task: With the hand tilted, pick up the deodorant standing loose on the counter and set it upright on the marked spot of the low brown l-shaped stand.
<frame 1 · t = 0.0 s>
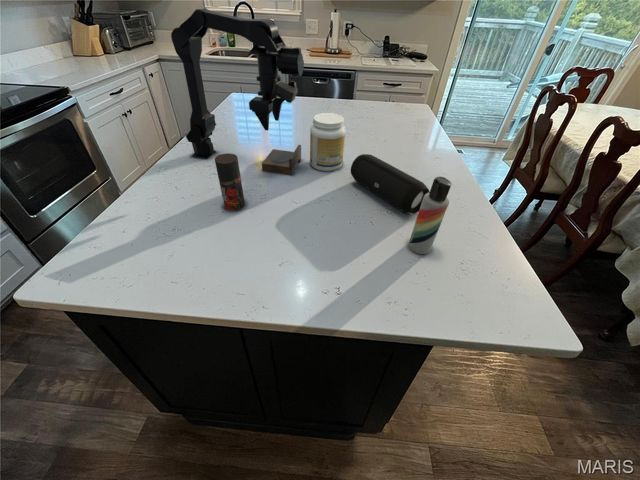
hand: (271, 125, 98), 15 cm above the kitchen island, tool pointing down, fingers open, 9 cm apart
lotion bottle: (419, 247, 77), on the kitchen island
portable speaker: (384, 196, 95), on the kitchen island
supplement tub: (326, 164, 110), on the kitchen island
brown l-shaped stand: (282, 165, 108), on the kitchen island
deodorant: (234, 205, 88), on the kitchen island
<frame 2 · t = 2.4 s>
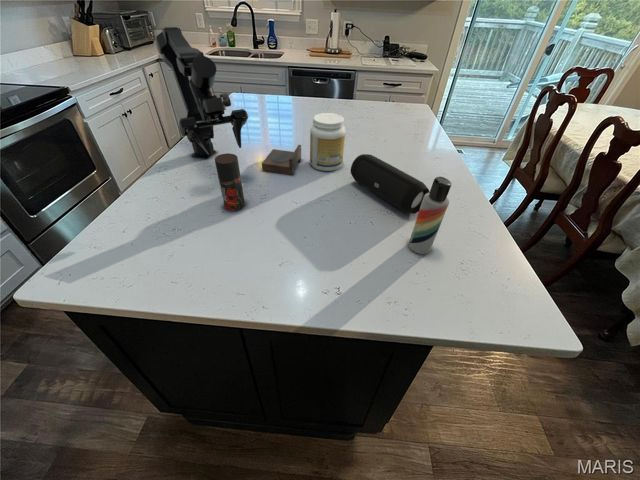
hand: (225, 150, 85), 13 cm above the kitchen island, tool tilted 40°, fingers open, 9 cm apart
nothing on the kitchen island moved.
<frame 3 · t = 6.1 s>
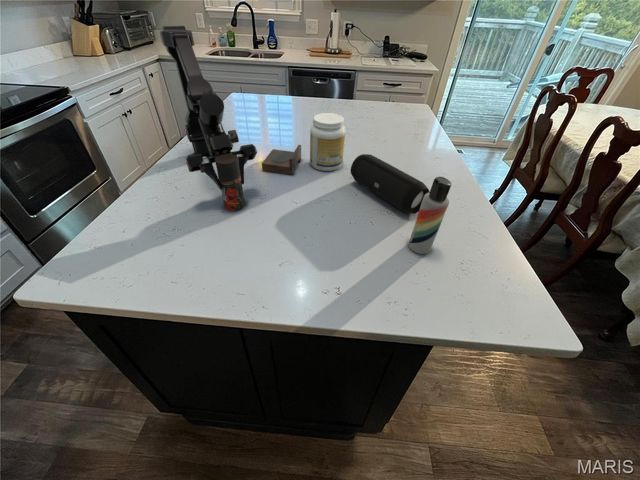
hand: (232, 186, 82), 7 cm above the kitchen island, tool tilted 45°, fingers closed on deodorant, 6 cm apart
deodorant: (234, 205, 88), on the kitchen island, touching gripper
everything else where it was.
when the fingers open (10 cm above the kitchen island, at t = 12.5 s): deodorant stays where it is, resting on brown l-shaped stand.
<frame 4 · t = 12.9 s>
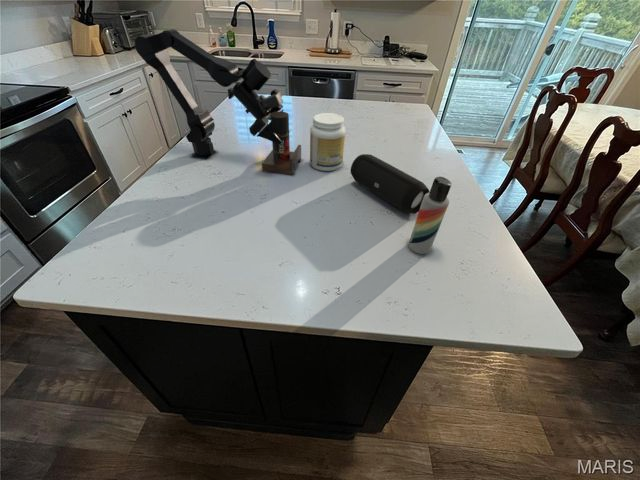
hand: (285, 138, 100), 10 cm above the kitchen island, tool tilted 45°, fingers open, 9 cm apart
deodorant: (281, 158, 106), point 3 cm above the kitchen island, touching brown l-shaped stand
everything else where it was.
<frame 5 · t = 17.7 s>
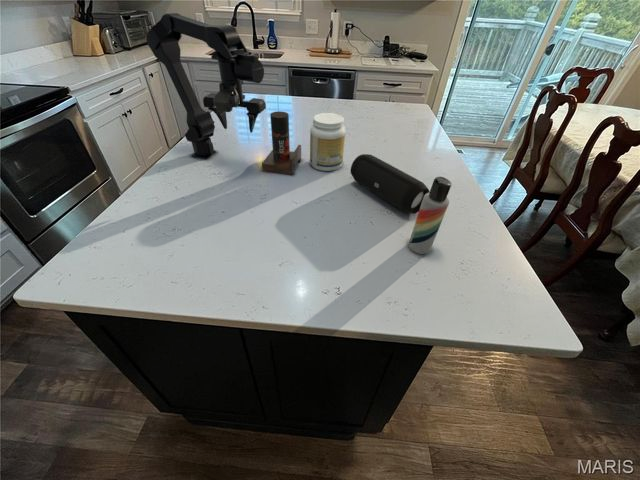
hand: (238, 130, 97), 13 cm above the kitchen island, tool pointing down, fingers open, 9 cm apart
nothing on the kitchen island moved.
at the end: deodorant 0.2 cm off-centre on the brown l-shaped stand, point 2.9 cm above the brown l-shaped stand's base; deodorant tilted 0°; the gripper is holding nothing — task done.
